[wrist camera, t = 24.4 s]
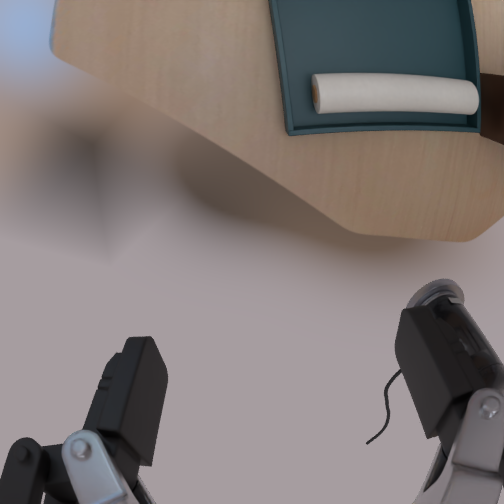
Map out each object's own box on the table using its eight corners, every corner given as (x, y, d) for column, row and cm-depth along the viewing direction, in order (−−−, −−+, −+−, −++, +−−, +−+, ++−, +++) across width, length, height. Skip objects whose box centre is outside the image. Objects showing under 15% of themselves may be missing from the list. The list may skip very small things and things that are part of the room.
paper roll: (463, 116, 32) (482, 113, 28) (313, 116, 33) (320, 110, 29) (458, 83, 31) (476, 78, 26) (307, 79, 32) (313, 69, 28)
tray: (467, 128, 34) (480, 132, 31) (285, 132, 35) (288, 136, 32) (454, -18, 23) (466, -22, 21) (262, -37, 25) (263, -46, 22)
